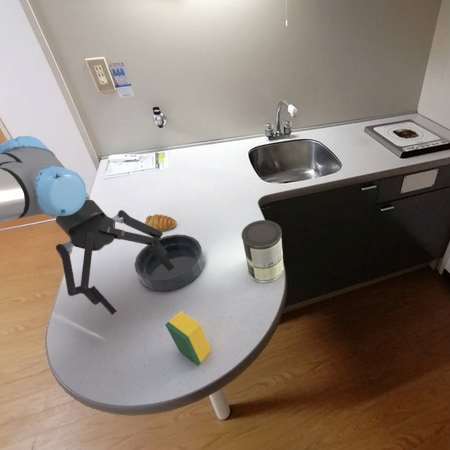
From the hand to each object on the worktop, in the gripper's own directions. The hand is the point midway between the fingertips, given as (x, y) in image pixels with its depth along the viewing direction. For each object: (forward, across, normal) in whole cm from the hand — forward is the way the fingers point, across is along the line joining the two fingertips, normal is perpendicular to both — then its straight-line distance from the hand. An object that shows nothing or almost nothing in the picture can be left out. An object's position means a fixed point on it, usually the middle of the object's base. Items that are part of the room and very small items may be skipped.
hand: (145, 289), depth 64 cm
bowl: (0, -14, -21) cm, 25 cm away
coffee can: (+16, -28, -5) cm, 33 cm away
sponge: (+18, 0, -3) cm, 18 cm away
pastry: (-13, -24, -34) cm, 43 cm away
